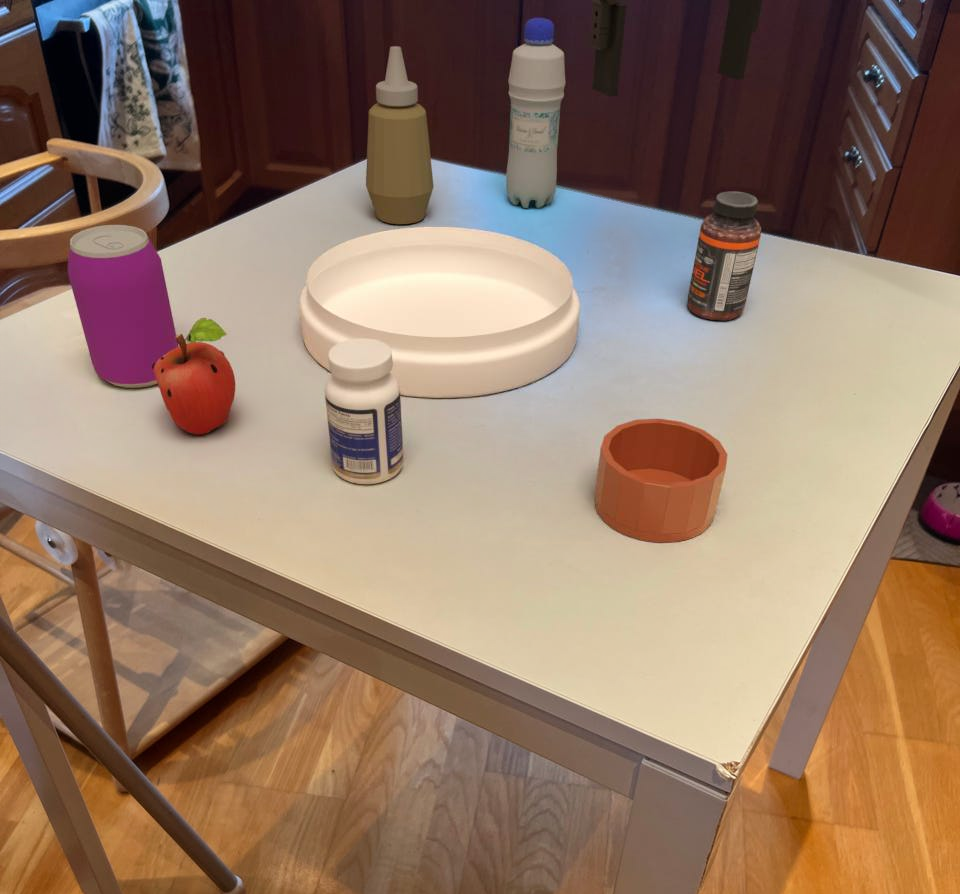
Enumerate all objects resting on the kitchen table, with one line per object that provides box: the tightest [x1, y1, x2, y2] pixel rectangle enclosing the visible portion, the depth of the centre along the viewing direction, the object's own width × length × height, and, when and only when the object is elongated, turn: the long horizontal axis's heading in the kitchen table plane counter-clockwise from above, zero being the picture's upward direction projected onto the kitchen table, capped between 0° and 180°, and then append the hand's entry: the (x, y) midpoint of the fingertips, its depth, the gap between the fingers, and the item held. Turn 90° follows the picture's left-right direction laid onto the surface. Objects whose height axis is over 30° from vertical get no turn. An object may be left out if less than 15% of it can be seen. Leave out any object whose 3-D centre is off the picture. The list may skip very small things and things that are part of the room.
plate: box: [299, 226, 581, 399], centre depth 94 cm, size 27×27×6 cm
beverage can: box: [67, 224, 179, 389], centre depth 84 cm, size 8×8×12 cm
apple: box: [152, 317, 236, 436], centre depth 78 cm, size 8×7×10 cm
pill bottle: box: [324, 338, 404, 485], centre depth 75 cm, size 6×6×10 cm
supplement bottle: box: [686, 190, 762, 321], centre depth 97 cm, size 6×6×11 cm
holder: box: [594, 418, 728, 544], centre depth 73 cm, size 9×9×5 cm
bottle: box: [505, 17, 567, 209], centre depth 116 cm, size 7×7×20 cm
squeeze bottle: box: [365, 45, 435, 225], centre depth 112 cm, size 8×8×18 cm
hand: (669, 84), depth 85 cm, fingers open, 13 cm apart
